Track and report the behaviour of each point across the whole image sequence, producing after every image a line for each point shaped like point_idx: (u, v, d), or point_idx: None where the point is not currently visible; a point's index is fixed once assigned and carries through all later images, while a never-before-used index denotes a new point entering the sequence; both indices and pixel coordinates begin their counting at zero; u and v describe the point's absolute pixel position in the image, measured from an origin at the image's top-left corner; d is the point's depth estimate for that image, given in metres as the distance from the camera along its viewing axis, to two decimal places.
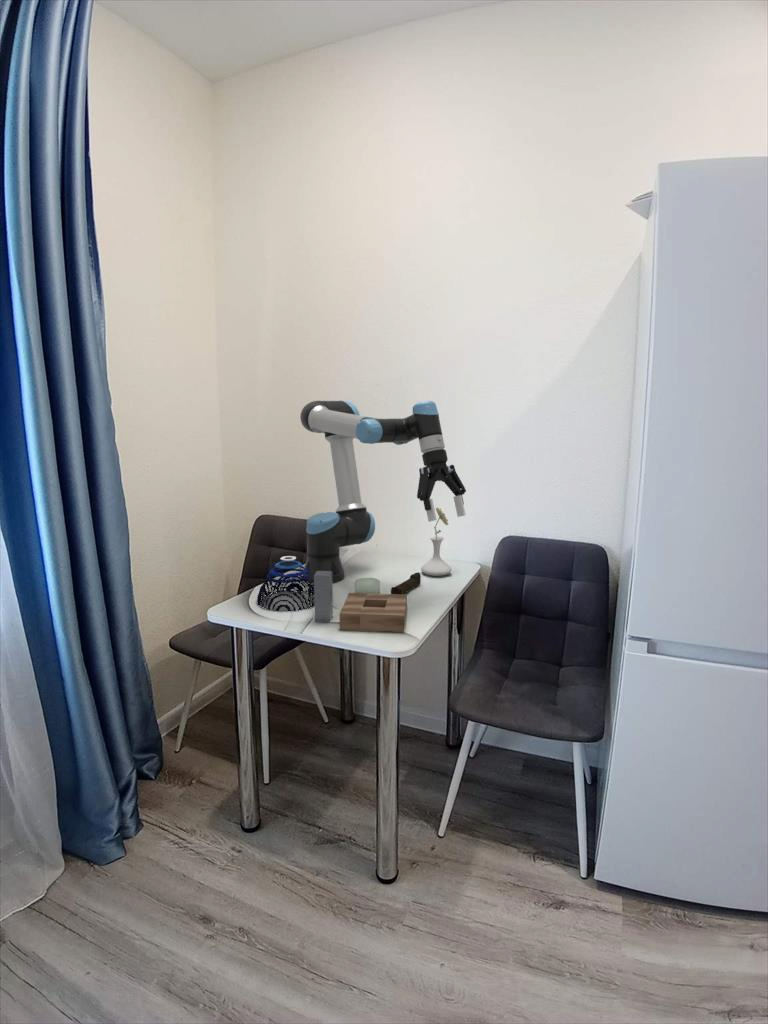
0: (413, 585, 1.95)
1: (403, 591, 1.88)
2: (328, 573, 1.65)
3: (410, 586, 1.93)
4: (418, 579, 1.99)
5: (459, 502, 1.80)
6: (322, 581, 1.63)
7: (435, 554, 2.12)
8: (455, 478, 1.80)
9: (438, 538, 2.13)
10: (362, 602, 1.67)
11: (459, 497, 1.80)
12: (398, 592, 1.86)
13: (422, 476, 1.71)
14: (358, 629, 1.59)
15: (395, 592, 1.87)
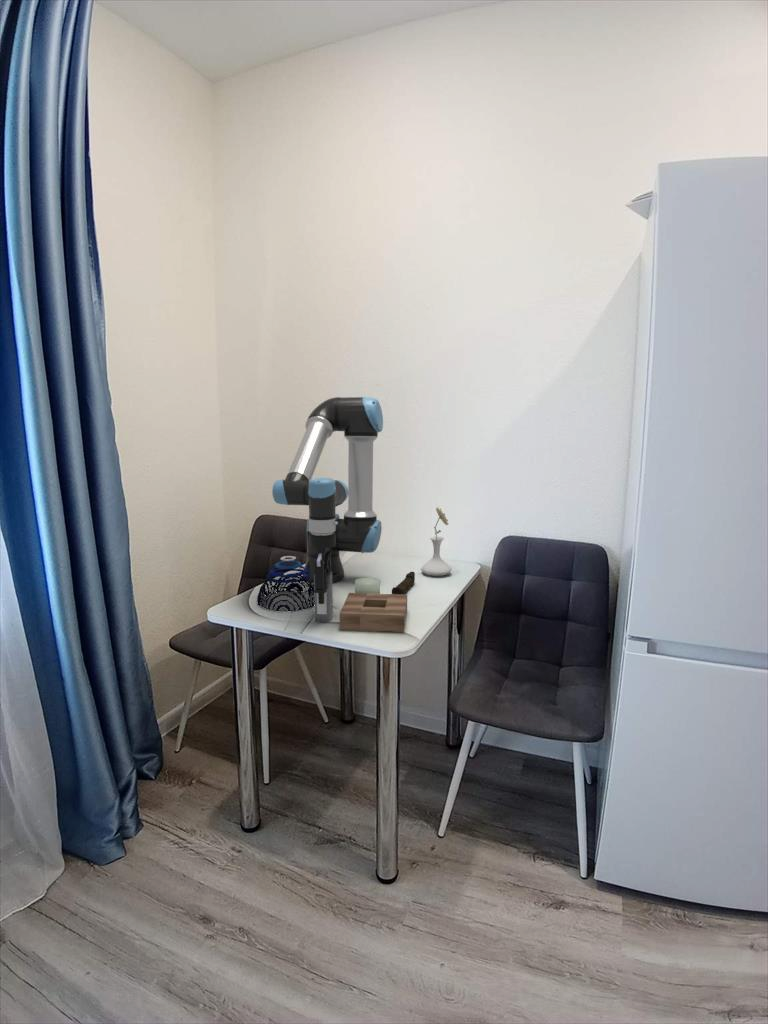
0: (410, 584, 1.96)
1: (404, 591, 1.89)
2: (328, 573, 1.65)
3: (408, 585, 1.94)
4: (413, 578, 2.00)
5: None
6: None
7: (435, 554, 2.12)
8: None
9: (438, 538, 2.13)
10: (362, 602, 1.67)
11: None
12: (400, 592, 1.86)
13: (319, 569, 1.59)
14: (358, 629, 1.59)
15: (397, 592, 1.86)
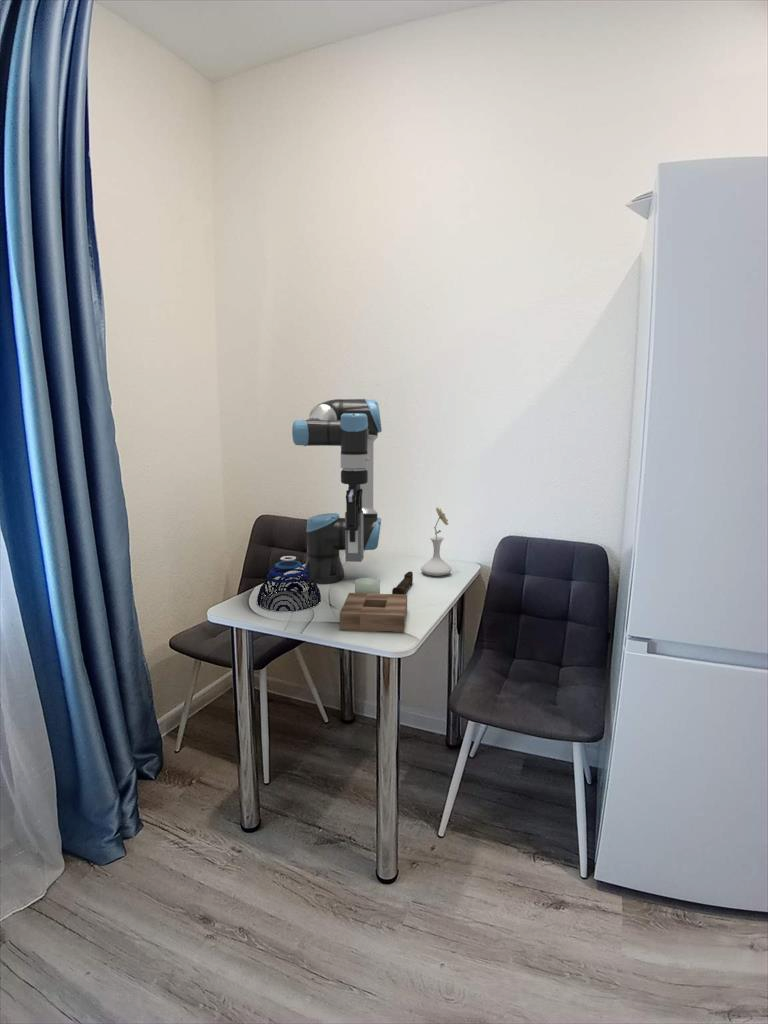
0: (409, 584, 1.96)
1: (404, 591, 1.89)
2: (359, 511, 1.61)
3: (408, 585, 1.94)
4: (412, 578, 2.00)
5: None
6: None
7: (435, 554, 2.12)
8: (359, 503, 1.66)
9: (438, 538, 2.13)
10: (362, 602, 1.67)
11: None
12: (400, 592, 1.86)
13: (350, 505, 1.55)
14: (358, 629, 1.59)
15: (397, 592, 1.86)
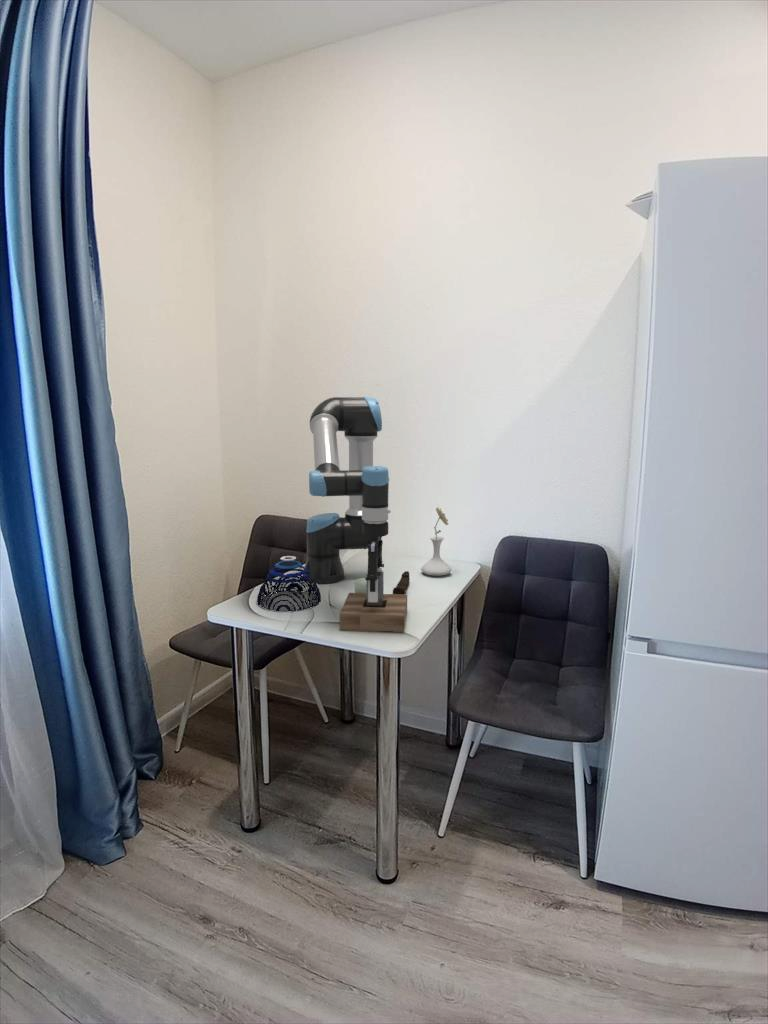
0: (407, 584, 1.96)
1: None
2: (380, 574, 1.65)
3: None
4: None
5: None
6: None
7: (435, 554, 2.12)
8: None
9: (438, 538, 2.13)
10: (362, 602, 1.67)
11: (380, 570, 1.70)
12: (401, 592, 1.86)
13: (372, 554, 1.57)
14: (358, 629, 1.59)
15: (398, 592, 1.86)
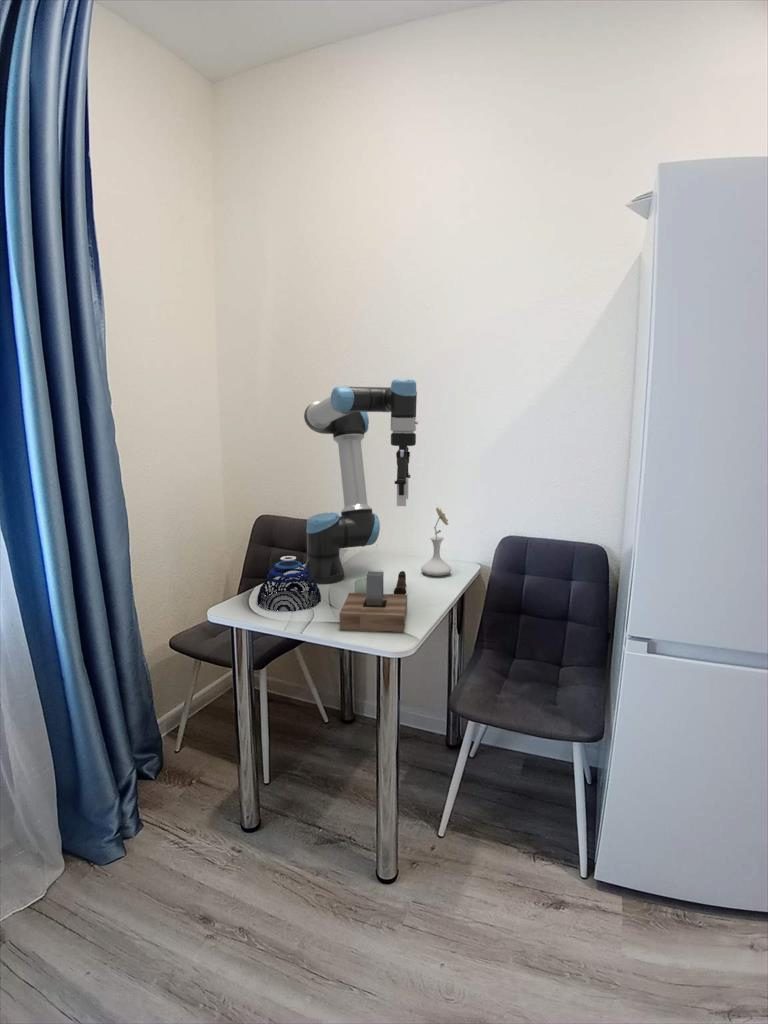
0: (405, 584, 1.97)
1: None
2: (380, 573, 1.65)
3: None
4: None
5: (405, 485, 1.80)
6: (375, 581, 1.63)
7: (435, 554, 2.12)
8: None
9: (438, 538, 2.13)
10: (362, 602, 1.67)
11: (407, 480, 1.80)
12: (403, 592, 1.86)
13: (401, 459, 1.65)
14: (358, 629, 1.59)
15: (399, 592, 1.86)
